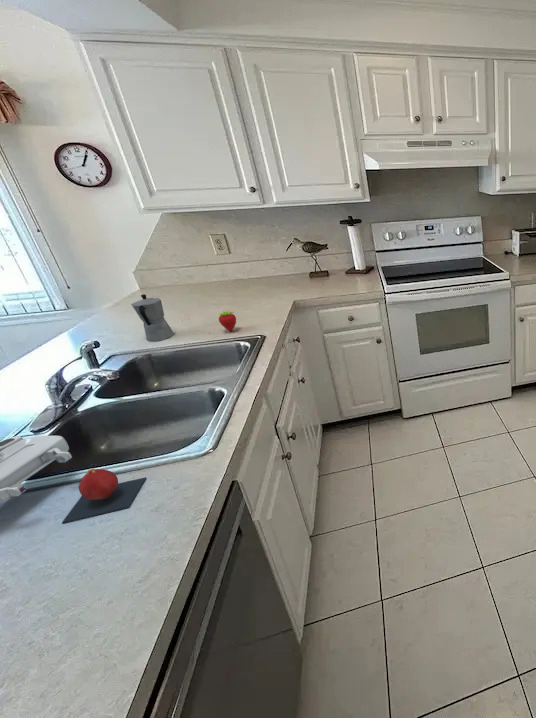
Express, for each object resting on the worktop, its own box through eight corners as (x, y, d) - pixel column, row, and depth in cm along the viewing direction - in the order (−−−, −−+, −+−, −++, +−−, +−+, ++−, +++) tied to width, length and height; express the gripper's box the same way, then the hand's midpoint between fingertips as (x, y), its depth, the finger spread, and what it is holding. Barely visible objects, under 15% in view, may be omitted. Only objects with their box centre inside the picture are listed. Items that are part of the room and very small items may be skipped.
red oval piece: (81, 505, 85) (62, 475, 82) (112, 485, 90) (95, 456, 87) (100, 511, 83) (82, 481, 80) (130, 490, 88) (114, 462, 85)
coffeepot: (150, 333, 169) (132, 291, 161) (178, 329, 172) (161, 288, 165) (140, 348, 156) (120, 303, 148) (170, 342, 160) (152, 299, 152)
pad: (62, 523, 81) (61, 522, 81) (86, 491, 89) (85, 490, 89) (129, 508, 85) (128, 506, 84) (146, 478, 92) (146, 477, 92)
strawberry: (237, 326, 173) (230, 304, 169) (241, 332, 168) (234, 309, 163) (221, 330, 169) (213, 307, 165) (224, 336, 164) (216, 312, 160)
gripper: (-100, 502, 72) (-22, 500, 72) (22, 431, 91) (83, 429, 91) (-78, 528, 75) (-3, 526, 75) (36, 453, 94) (96, 452, 94)
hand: (45, 472), depth 83 cm, fingers open, 8 cm apart
